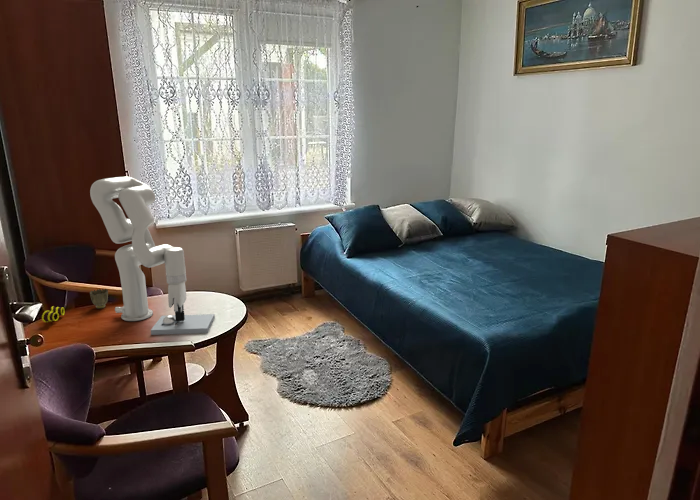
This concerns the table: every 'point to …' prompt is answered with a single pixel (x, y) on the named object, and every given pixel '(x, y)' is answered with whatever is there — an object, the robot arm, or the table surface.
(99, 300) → the cup
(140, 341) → the table surface
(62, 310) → the yellow looped piece
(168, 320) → the steel ball
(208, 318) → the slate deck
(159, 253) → the robot arm
